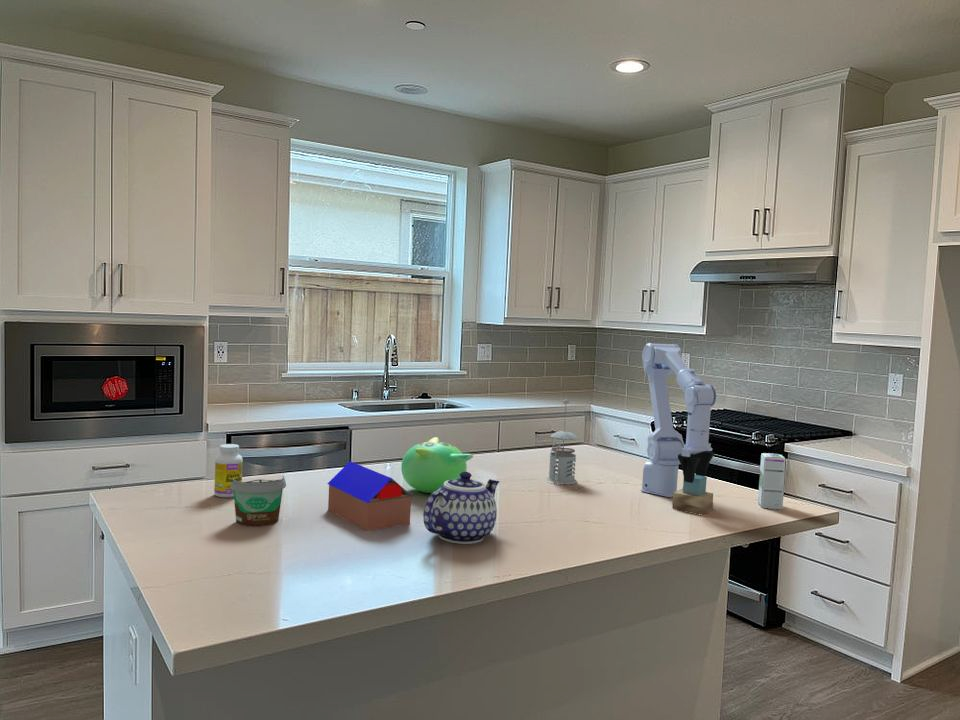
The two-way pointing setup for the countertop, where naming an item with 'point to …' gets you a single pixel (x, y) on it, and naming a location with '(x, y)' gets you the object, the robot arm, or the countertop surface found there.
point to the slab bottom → (692, 508)
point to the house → (368, 498)
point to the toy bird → (433, 465)
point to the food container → (257, 501)
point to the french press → (562, 458)
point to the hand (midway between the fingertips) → (694, 479)
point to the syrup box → (771, 481)
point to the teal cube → (695, 486)
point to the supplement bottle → (227, 470)
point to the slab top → (692, 498)
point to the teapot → (462, 510)
